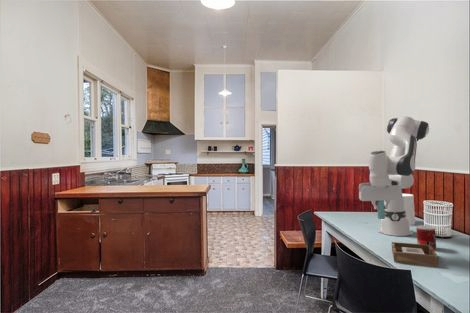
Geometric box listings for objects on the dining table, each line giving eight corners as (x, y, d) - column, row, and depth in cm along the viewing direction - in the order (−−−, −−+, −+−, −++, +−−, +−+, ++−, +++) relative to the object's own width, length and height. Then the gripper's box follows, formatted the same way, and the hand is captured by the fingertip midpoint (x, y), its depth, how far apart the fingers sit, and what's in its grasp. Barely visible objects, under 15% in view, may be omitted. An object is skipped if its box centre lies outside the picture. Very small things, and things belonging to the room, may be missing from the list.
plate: (402, 254, 128) (401, 246, 128) (422, 256, 125) (421, 248, 125) (403, 259, 121) (403, 252, 121) (425, 262, 117) (424, 254, 118)
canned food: (430, 252, 131) (429, 229, 131) (414, 247, 138) (412, 226, 138) (440, 249, 134) (438, 227, 134) (423, 245, 141) (422, 224, 142)
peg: (380, 217, 140) (379, 194, 140) (386, 218, 137) (385, 195, 137) (376, 218, 138) (375, 194, 139) (382, 219, 135) (380, 195, 136)
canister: (414, 226, 180) (412, 196, 181) (387, 223, 190) (385, 195, 190) (415, 221, 193) (414, 193, 193) (390, 219, 202) (389, 193, 203)
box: (392, 251, 134) (391, 241, 134) (431, 255, 126) (430, 245, 126) (394, 263, 119) (393, 252, 120) (438, 268, 112) (437, 256, 112)
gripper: (360, 183, 136) (362, 210, 135) (403, 182, 134) (404, 209, 133) (356, 182, 142) (357, 208, 142) (396, 181, 140) (398, 207, 139)
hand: (381, 209), depth 137 cm, fingers closed on peg, 3 cm apart
